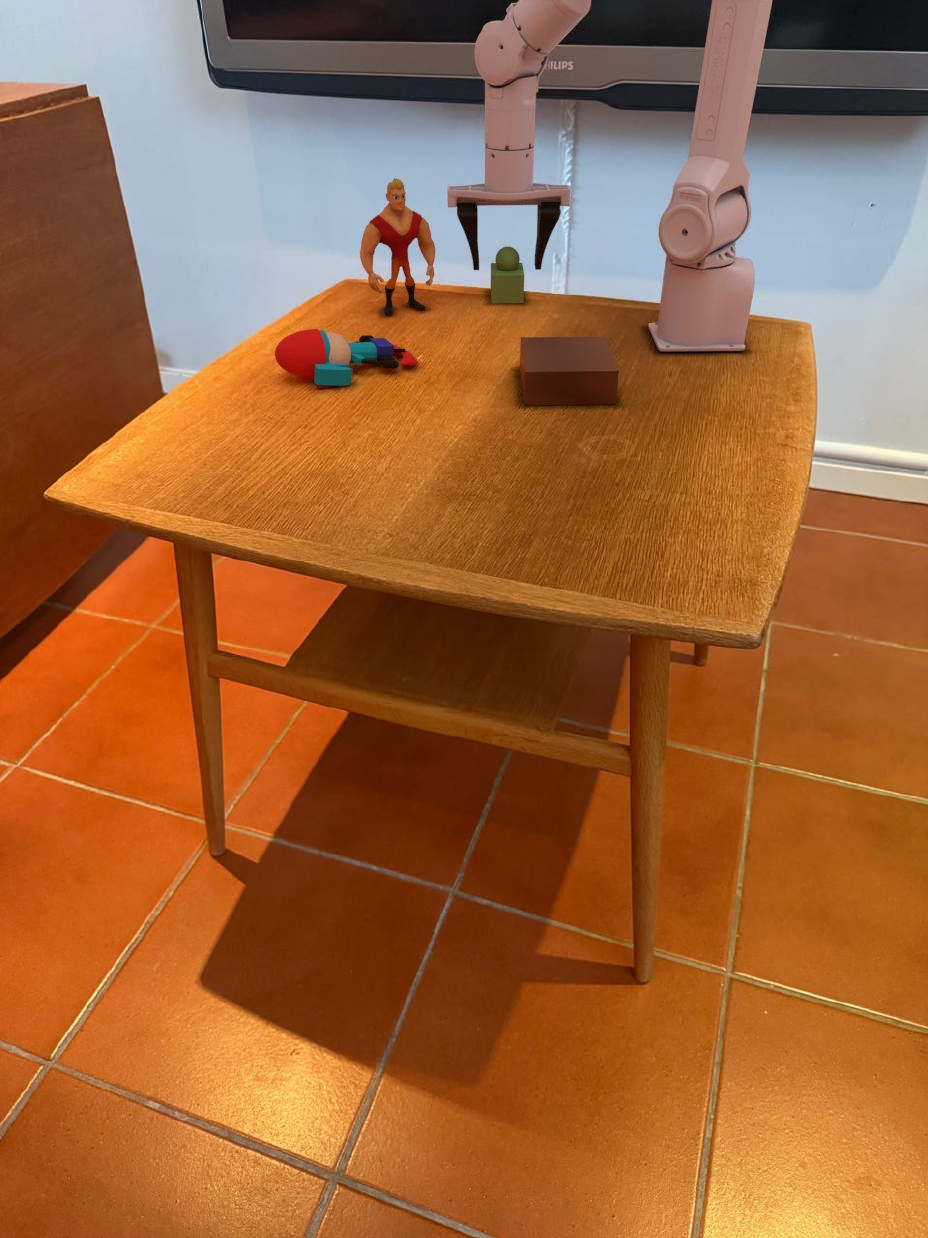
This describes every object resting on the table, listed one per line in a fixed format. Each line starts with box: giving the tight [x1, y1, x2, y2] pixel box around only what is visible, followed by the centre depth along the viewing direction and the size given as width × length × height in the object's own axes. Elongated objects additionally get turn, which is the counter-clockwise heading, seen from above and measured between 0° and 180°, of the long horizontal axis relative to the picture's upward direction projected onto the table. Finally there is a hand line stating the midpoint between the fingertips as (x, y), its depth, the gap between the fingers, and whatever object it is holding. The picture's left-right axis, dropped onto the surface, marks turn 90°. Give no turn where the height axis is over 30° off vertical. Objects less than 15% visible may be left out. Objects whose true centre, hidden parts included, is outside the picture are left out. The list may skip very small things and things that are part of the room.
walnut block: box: [519, 336, 620, 406], centre depth 89 cm, size 9×9×4 cm
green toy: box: [490, 246, 525, 305], centre depth 110 cm, size 4×5×6 cm
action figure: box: [359, 177, 436, 316], centre depth 104 cm, size 10×4×15 cm, turn 114°
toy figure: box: [274, 328, 419, 387], centre depth 93 cm, size 8×5×15 cm
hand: (507, 267), depth 110 cm, fingers open, 7 cm apart
